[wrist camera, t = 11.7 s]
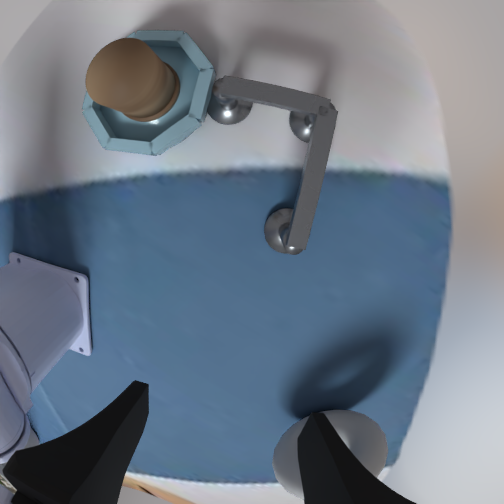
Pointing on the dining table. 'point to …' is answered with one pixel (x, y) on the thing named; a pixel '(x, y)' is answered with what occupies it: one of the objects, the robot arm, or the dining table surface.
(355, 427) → the donut
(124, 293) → the dining table surface
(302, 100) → the bent rail
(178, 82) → the cylinder
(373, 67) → the dining table surface
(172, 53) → the dish
